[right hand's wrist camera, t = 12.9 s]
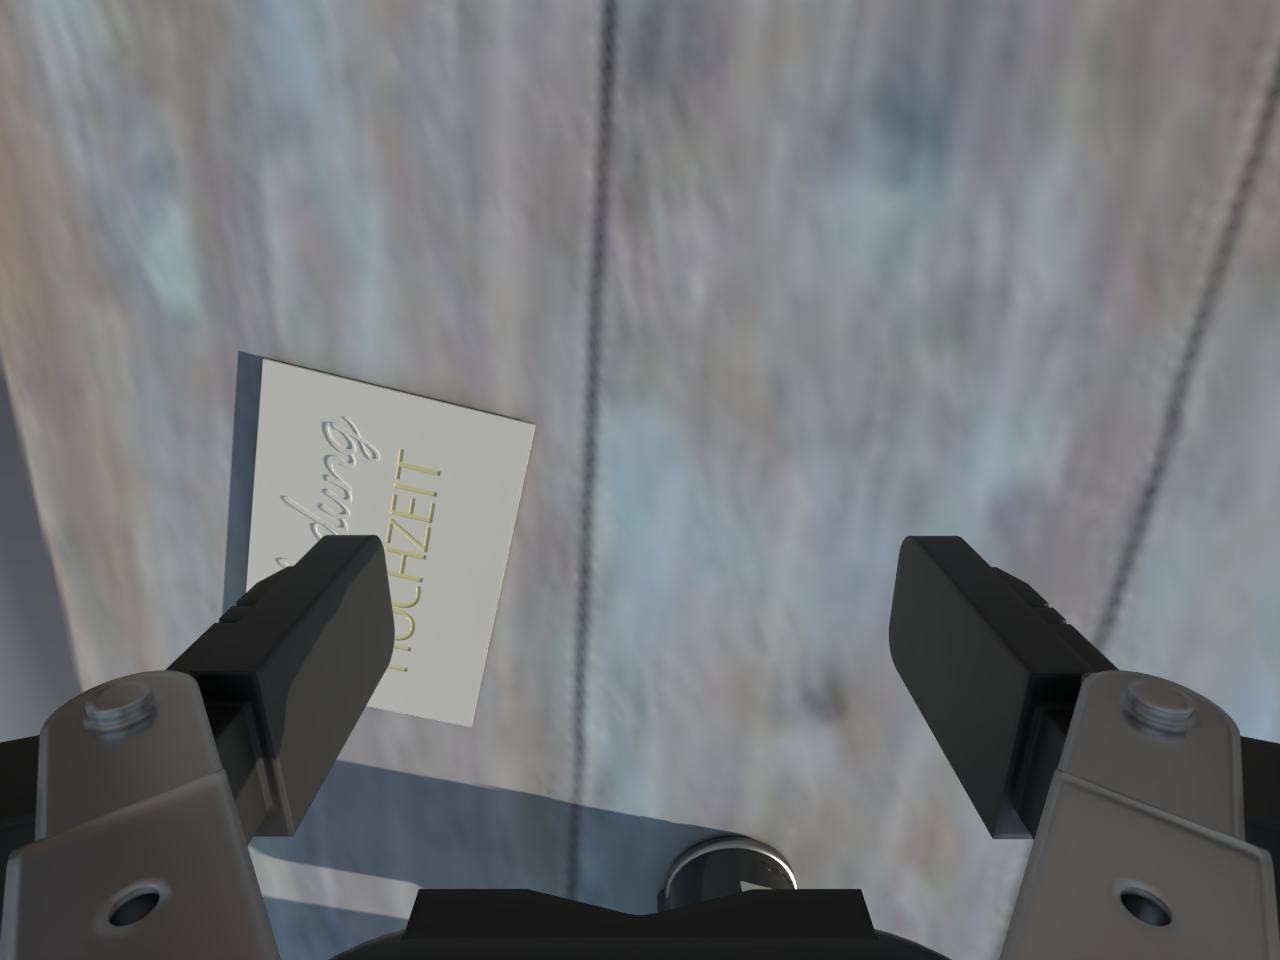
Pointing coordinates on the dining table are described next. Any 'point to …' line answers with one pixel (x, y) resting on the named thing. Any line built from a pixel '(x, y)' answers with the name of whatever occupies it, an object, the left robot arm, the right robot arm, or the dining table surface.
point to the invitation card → (395, 516)
